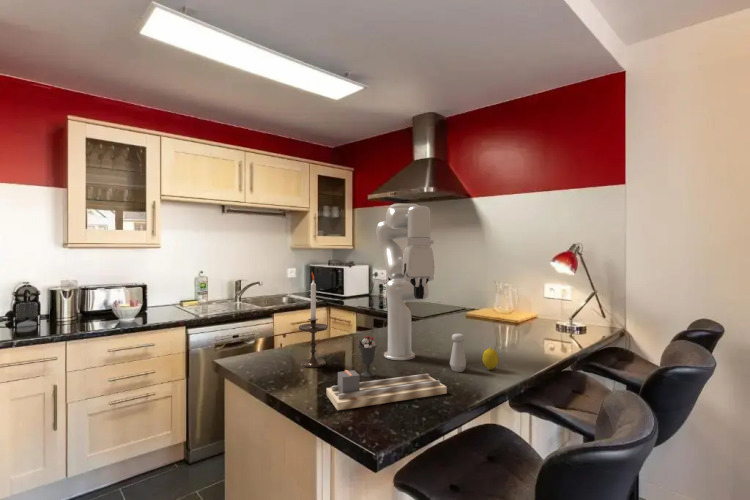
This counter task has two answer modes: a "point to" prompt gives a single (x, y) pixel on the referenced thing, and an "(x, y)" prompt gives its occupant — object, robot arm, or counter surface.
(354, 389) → the fader knob
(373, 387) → the fader board
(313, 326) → the candlestick
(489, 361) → the lemon
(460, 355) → the salt shaker
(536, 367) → the counter surface
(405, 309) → the robot arm
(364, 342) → the sundae
